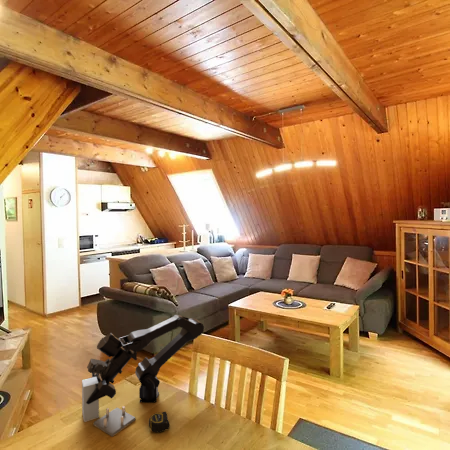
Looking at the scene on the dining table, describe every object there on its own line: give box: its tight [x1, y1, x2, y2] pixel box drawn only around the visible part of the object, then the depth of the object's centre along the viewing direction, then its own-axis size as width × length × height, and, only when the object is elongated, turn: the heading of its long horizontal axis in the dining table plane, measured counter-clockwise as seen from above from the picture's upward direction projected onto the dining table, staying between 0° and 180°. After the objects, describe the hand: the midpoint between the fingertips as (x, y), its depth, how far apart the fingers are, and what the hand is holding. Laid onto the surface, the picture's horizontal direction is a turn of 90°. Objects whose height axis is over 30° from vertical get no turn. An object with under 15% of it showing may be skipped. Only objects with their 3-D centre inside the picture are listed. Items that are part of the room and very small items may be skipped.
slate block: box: [81, 376, 100, 423], centre depth 117 cm, size 5×5×13 cm
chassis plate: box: [93, 405, 136, 437], centre depth 114 cm, size 10×10×4 cm
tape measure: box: [148, 411, 171, 433], centre depth 112 cm, size 7×7×4 cm
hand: (86, 399), depth 117 cm, fingers closed on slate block, 5 cm apart
